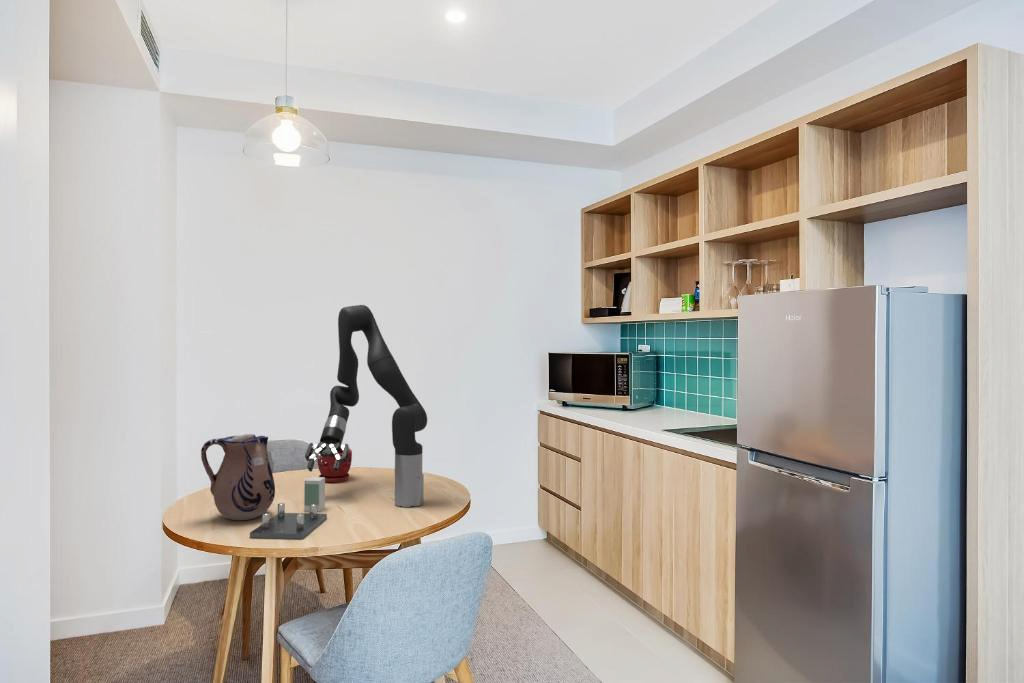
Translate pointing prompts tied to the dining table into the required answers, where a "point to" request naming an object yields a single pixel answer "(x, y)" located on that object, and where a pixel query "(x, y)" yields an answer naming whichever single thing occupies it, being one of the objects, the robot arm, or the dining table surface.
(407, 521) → the dining table surface
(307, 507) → the block
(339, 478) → the plant pot
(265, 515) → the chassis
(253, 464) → the ceramic pitcher
